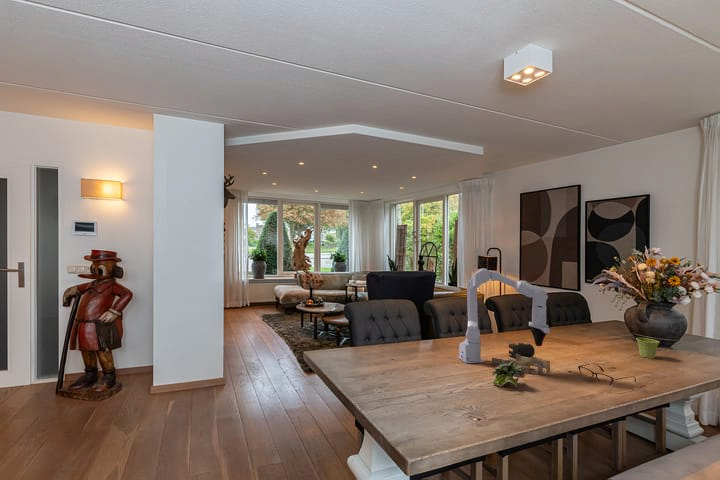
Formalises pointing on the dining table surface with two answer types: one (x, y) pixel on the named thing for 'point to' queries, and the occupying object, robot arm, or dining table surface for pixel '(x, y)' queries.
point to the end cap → (521, 350)
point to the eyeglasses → (601, 374)
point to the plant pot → (647, 347)
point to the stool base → (526, 368)
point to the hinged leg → (532, 362)
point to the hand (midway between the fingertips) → (538, 345)
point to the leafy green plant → (506, 373)
